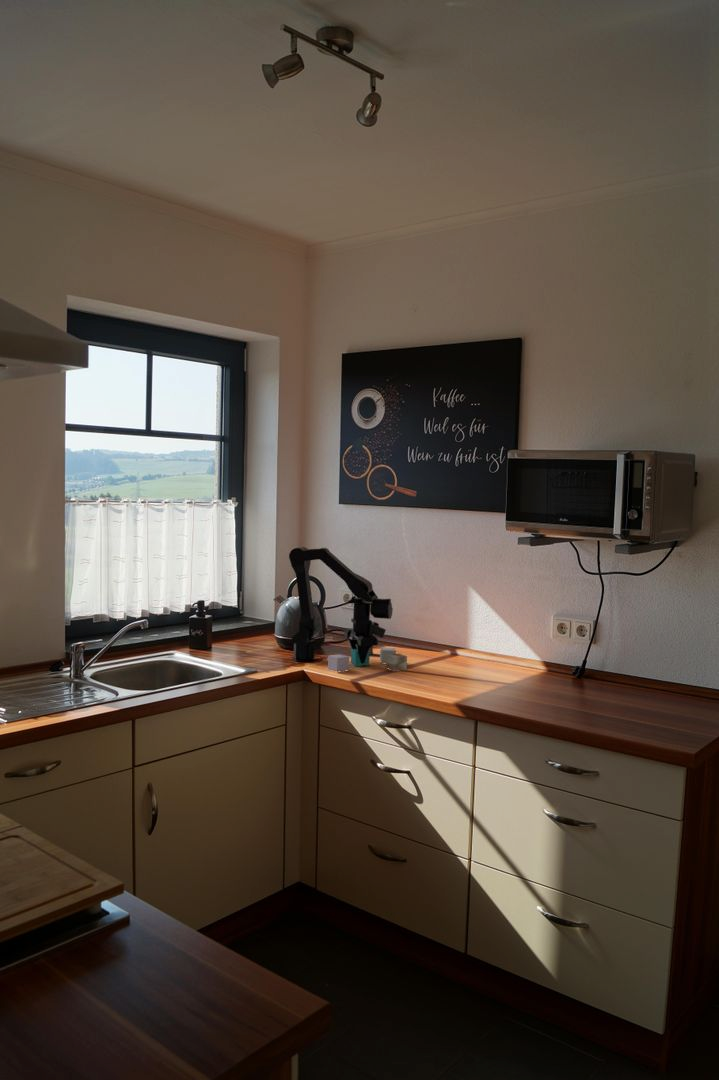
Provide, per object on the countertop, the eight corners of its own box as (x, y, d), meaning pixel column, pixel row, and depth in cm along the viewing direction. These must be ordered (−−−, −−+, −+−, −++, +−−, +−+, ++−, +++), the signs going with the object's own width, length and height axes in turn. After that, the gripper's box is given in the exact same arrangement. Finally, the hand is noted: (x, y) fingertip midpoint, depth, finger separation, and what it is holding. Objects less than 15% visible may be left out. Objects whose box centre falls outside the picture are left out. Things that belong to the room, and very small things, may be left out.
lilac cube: (336, 673, 288) (337, 658, 288) (327, 670, 292) (328, 655, 292) (348, 671, 291) (349, 656, 291) (339, 668, 295) (340, 654, 295)
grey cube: (381, 664, 304) (381, 650, 304) (379, 661, 309) (380, 647, 309) (395, 664, 305) (396, 650, 304) (393, 661, 310) (394, 647, 309)
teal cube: (355, 666, 298) (355, 651, 298) (350, 663, 303) (351, 649, 303) (369, 665, 300) (369, 651, 300) (364, 662, 305) (364, 648, 304)
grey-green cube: (393, 672, 293) (394, 657, 293) (386, 669, 297) (386, 654, 297) (406, 670, 295) (407, 656, 295) (398, 667, 300) (399, 653, 299)
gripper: (393, 620, 294) (391, 666, 295) (374, 612, 312) (372, 655, 313) (361, 621, 291) (360, 667, 292) (344, 612, 308) (343, 656, 309)
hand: (360, 661), depth 301 cm, fingers closed on teal cube, 5 cm apart
